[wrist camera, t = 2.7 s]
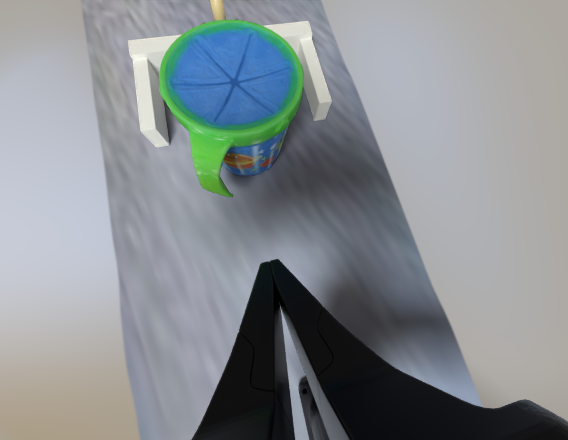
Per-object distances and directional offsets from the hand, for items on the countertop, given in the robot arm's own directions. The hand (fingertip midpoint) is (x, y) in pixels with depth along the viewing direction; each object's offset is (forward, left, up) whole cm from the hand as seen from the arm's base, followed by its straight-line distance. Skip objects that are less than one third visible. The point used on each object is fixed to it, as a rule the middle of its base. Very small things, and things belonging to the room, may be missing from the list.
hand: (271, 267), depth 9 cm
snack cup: (+14, 0, -13) cm, 19 cm away
